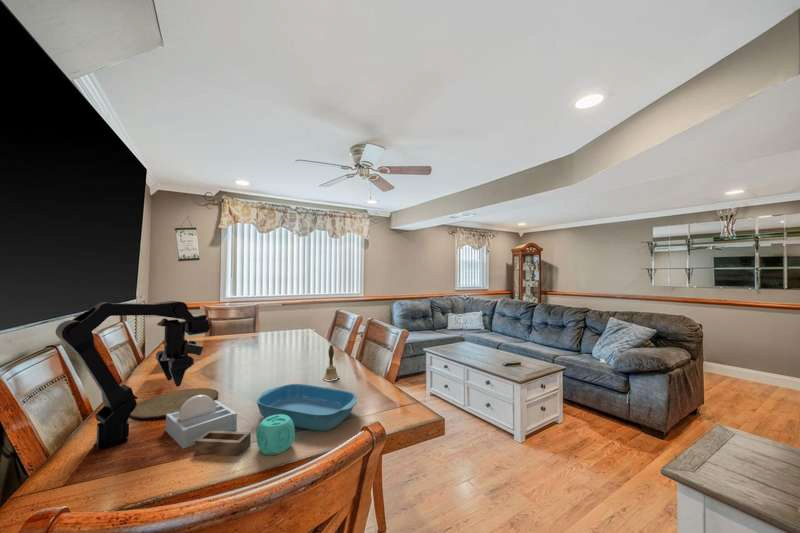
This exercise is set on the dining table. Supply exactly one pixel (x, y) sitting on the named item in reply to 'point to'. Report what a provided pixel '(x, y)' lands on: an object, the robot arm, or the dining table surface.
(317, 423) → the casserole dish
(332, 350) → the hand bell
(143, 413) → the decorative disc
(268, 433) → the decorative dice
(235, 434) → the stand
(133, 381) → the dining table surface
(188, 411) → the plate
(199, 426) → the rack
